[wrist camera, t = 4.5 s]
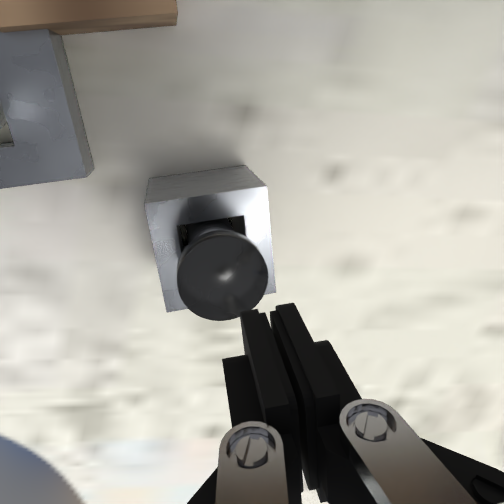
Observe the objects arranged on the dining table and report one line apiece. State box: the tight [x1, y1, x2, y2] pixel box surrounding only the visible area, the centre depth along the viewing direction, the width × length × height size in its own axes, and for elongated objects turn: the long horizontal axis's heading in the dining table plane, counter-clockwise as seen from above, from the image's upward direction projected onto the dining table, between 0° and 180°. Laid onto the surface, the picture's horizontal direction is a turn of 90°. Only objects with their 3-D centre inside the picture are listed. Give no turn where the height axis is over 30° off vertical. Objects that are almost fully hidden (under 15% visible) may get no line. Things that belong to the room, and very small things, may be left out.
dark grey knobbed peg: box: [176, 218, 268, 321], centre depth 22 cm, size 4×4×9 cm
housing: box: [144, 165, 276, 312], centre depth 24 cm, size 6×6×6 cm
